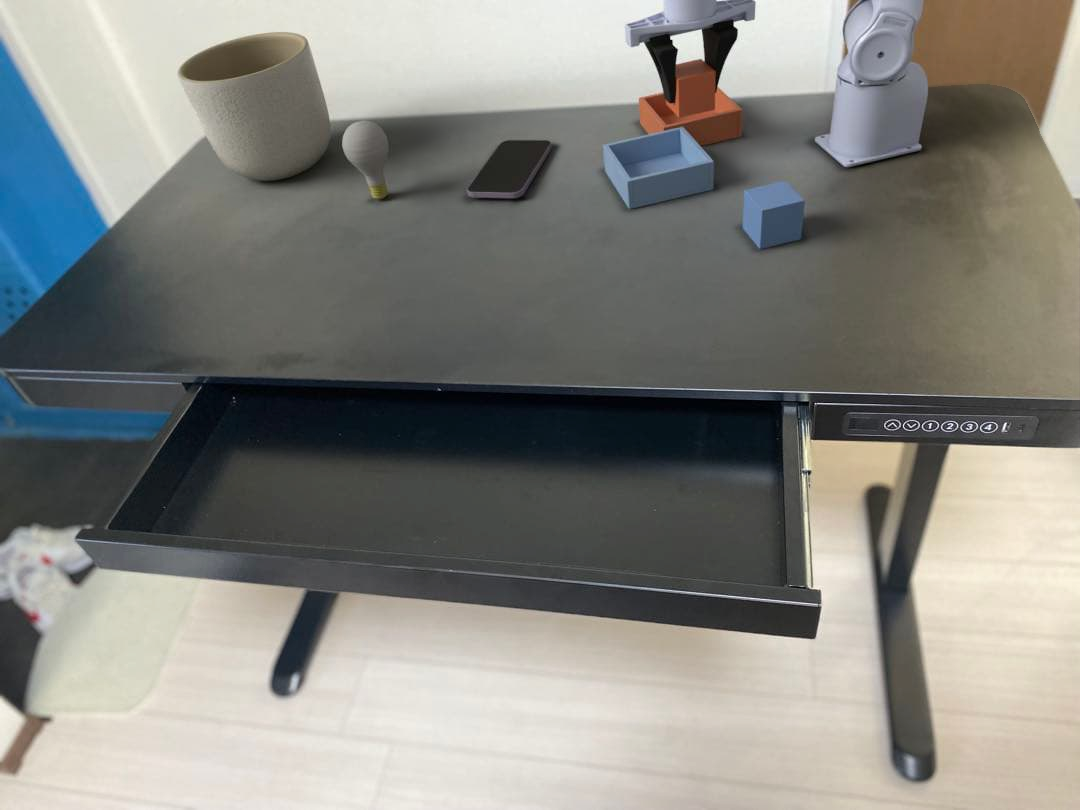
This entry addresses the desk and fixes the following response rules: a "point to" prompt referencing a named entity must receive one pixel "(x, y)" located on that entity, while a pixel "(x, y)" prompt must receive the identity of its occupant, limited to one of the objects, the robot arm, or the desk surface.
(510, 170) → the smartphone
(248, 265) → the desk surface
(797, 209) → the slate-blue block
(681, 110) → the terracotta block
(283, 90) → the planter
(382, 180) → the light bulb
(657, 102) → the terracotta bin
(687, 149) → the slate-blue bin
